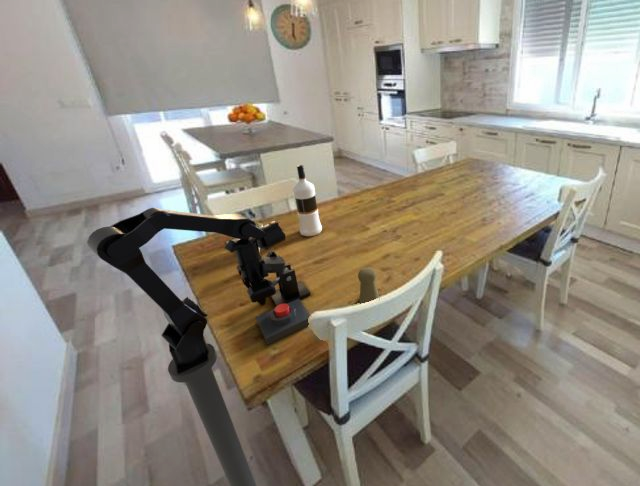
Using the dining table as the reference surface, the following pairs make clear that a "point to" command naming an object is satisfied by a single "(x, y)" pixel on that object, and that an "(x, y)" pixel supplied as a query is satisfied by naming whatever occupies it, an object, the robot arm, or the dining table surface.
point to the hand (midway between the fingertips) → (262, 301)
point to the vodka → (306, 205)
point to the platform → (256, 226)
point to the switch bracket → (289, 288)
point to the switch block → (283, 322)
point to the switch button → (282, 310)
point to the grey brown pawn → (367, 285)
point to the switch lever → (279, 278)
